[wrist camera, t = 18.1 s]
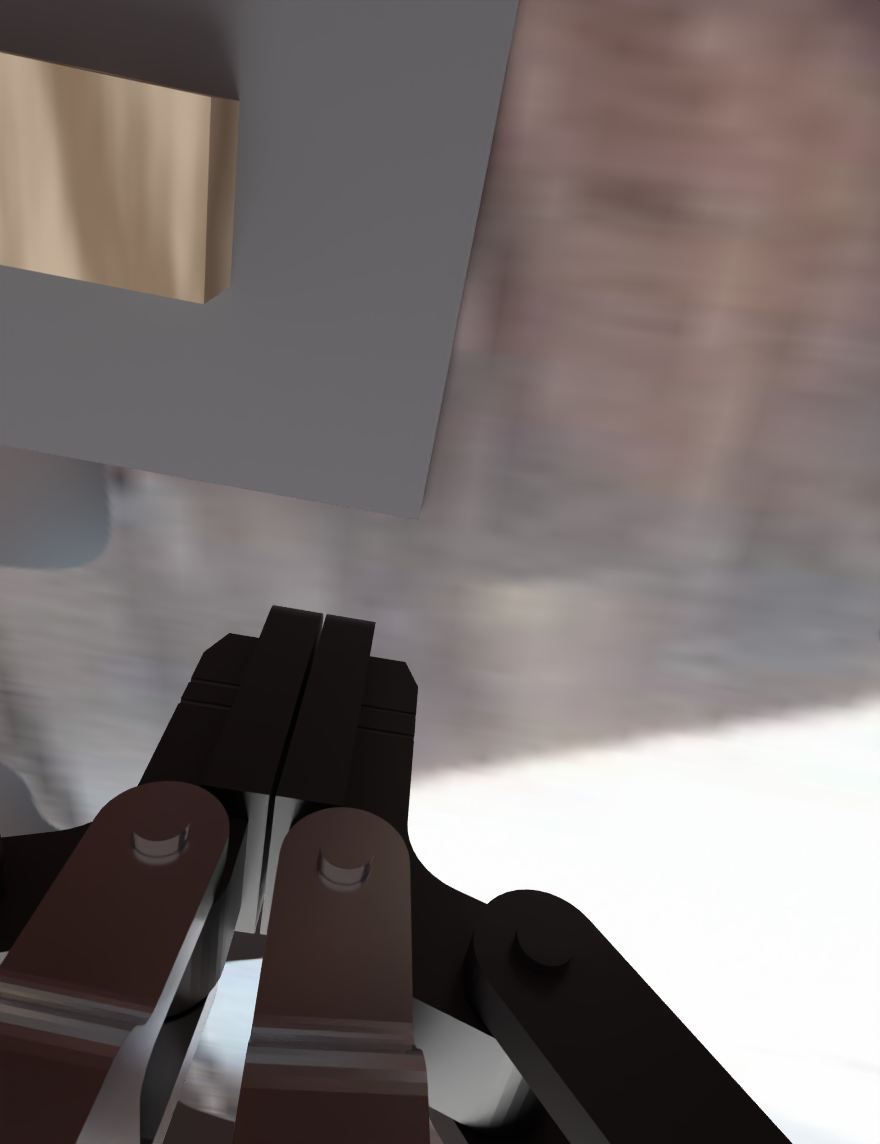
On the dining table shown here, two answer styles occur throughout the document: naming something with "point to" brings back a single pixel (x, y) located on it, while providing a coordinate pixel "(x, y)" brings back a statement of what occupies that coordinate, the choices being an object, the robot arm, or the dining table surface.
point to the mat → (276, 248)
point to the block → (116, 179)
